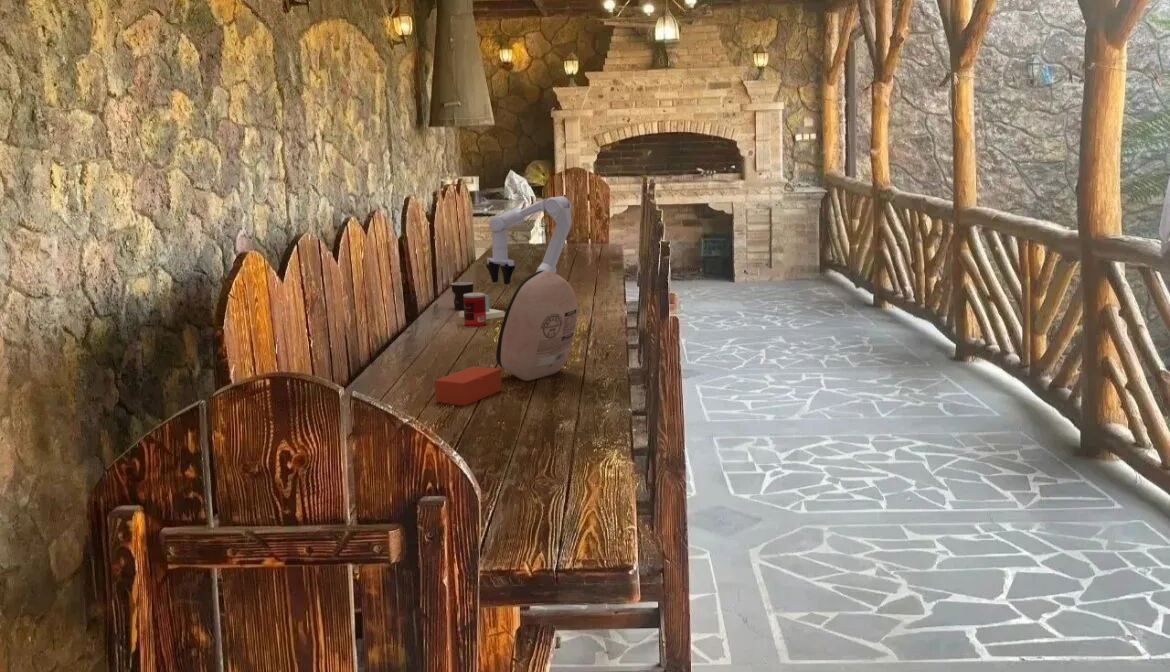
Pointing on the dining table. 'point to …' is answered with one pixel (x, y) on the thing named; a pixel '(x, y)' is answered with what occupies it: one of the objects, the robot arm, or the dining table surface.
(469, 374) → the brick
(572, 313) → the packaged food
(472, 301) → the canned food
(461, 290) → the coffee mug
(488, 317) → the base tile
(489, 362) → the dining table surface
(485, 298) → the block
